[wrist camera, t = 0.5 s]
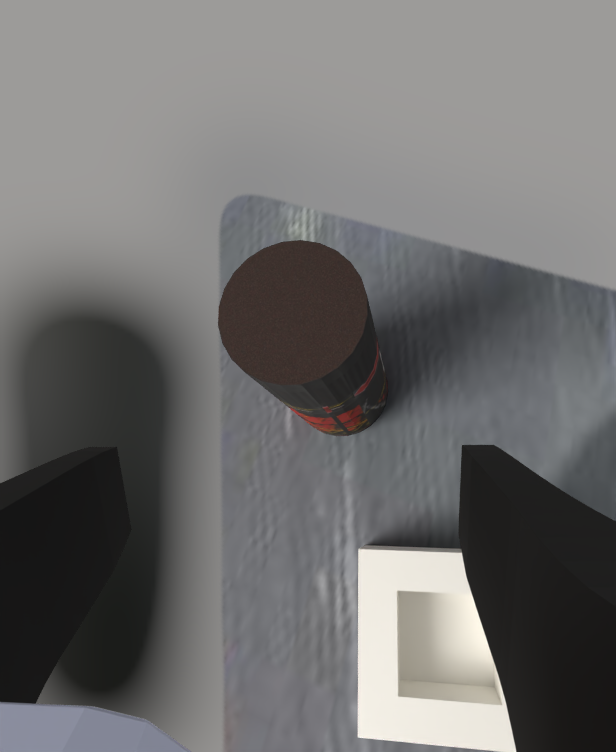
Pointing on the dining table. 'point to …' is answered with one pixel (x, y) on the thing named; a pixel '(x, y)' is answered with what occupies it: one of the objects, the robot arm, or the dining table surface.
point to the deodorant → (306, 334)
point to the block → (425, 653)
